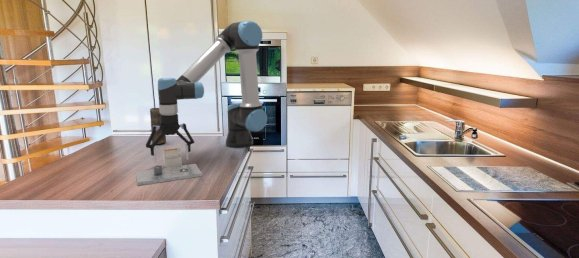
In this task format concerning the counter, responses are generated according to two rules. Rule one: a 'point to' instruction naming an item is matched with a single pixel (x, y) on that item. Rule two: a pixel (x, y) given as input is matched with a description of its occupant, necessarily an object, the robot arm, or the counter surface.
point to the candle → (156, 124)
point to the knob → (172, 157)
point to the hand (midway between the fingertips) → (171, 160)
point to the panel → (167, 174)
